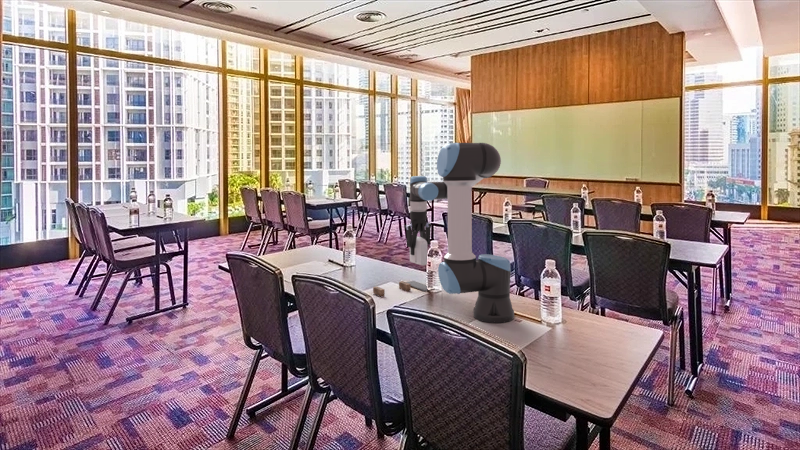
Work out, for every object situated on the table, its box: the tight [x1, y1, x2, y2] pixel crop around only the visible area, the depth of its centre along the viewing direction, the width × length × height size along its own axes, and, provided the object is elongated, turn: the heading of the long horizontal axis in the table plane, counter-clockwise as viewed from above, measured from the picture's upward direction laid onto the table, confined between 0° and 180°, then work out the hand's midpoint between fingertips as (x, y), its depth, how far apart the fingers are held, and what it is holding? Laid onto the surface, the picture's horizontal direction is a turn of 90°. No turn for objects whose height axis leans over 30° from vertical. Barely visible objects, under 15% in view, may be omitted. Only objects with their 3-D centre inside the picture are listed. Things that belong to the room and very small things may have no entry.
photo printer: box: [409, 236, 429, 266], centre depth 228 cm, size 10×4×12 cm, turn 34°
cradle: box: [372, 281, 412, 297], centre depth 221 cm, size 6×16×3 cm, turn 126°
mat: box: [405, 280, 428, 292], centre depth 230 cm, size 16×6×1 cm, turn 36°
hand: (418, 260), depth 229 cm, fingers closed on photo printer, 4 cm apart
